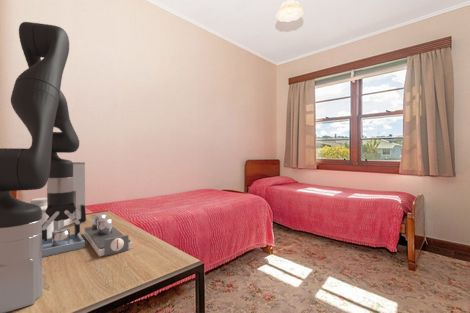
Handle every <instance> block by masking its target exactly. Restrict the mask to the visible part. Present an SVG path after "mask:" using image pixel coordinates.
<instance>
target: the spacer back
mask: <svg viewBox="0 0 470 313" xmlns="http://www.w3.org/2000/svg"><path fill="white" fill-rule="evenodd" d="M103 218H107V213H95V214H93V215H91V227H92V229H97V220H99V219H103Z"/></svg>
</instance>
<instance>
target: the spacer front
mask: <svg viewBox="0 0 470 313" xmlns="http://www.w3.org/2000/svg"><path fill="white" fill-rule="evenodd" d="M70 234H71V229H70V228H65V229H59V230H55V231H53V232H52V237H51V238H52V247H57V246H61V245H66V244H70Z"/></svg>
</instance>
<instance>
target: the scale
mask: <svg viewBox="0 0 470 313" xmlns="http://www.w3.org/2000/svg"><path fill="white" fill-rule="evenodd" d="M82 235H83V237H85V239H86V240H87V241H88V243H89V244H90V246H91V247H92V249H93V250H94V252H95V253H96V254H97V256H98V257H104V256H105V257H107V256H110V255H111V256H112V255H115V254H118V253H123V252H127V251H129V250H131V249H133V241H132V240H130V239H129V234H123V233H122V232H120V231H119V229H117V228H116V227H114V226H113V225H112V233H111V234H108V235H97V229H92V226H86V227H84V228H82Z"/></svg>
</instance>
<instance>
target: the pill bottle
mask: <svg viewBox="0 0 470 313" xmlns="http://www.w3.org/2000/svg"><path fill="white" fill-rule="evenodd" d="M29 203H31V204H35V205H38V206H40V207H41V210H46V209H47V197H37V198H32V199H30V202H29ZM48 217H49V216H48V215H47V214H46V213H44V214H43V216H42V225H43V224H44V222H45V221H46V220H47V218H48ZM53 231H54V221H53V222H52V223H51V224H50V225H49V226H48V227H47V238H52V232H53Z"/></svg>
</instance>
